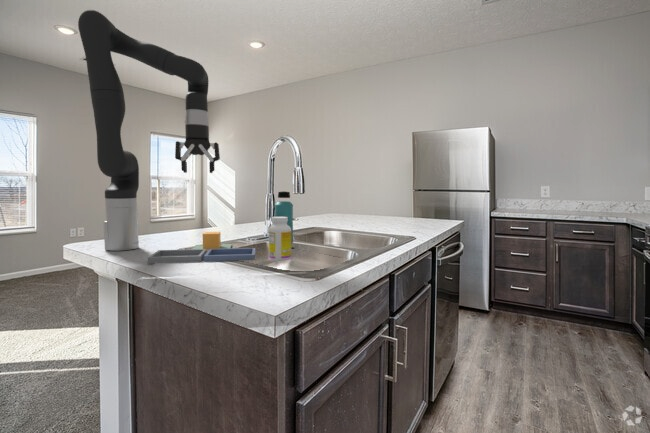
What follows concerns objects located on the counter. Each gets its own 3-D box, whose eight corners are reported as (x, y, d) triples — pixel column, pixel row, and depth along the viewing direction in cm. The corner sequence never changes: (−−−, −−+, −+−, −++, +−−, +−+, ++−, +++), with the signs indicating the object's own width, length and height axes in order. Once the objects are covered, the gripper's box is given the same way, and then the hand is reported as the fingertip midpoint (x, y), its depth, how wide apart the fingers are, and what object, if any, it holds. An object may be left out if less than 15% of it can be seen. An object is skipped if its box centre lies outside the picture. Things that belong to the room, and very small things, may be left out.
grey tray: (147, 264, 96) (147, 257, 96) (158, 256, 107) (158, 250, 106) (200, 263, 99) (200, 256, 99) (206, 255, 109) (206, 249, 109)
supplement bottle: (293, 257, 107) (293, 216, 106) (288, 262, 100) (288, 218, 99) (271, 257, 107) (271, 215, 106) (266, 262, 101) (265, 218, 100)
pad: (189, 254, 110) (189, 251, 110) (196, 247, 122) (196, 244, 121) (228, 253, 112) (228, 250, 112) (231, 246, 124) (231, 244, 124)
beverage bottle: (283, 246, 124) (282, 191, 122) (297, 249, 121) (297, 191, 119) (270, 249, 119) (269, 191, 117) (284, 252, 115) (284, 191, 113)
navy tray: (204, 263, 99) (203, 256, 99) (209, 255, 109) (209, 248, 109) (254, 261, 101) (254, 254, 101) (255, 254, 112) (255, 247, 111)
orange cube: (202, 249, 114) (202, 234, 113) (205, 246, 119) (205, 231, 118) (218, 248, 115) (218, 233, 114) (220, 246, 120) (220, 231, 119)
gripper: (220, 127, 123) (220, 173, 125) (177, 125, 121) (179, 172, 123) (217, 124, 116) (218, 172, 118) (172, 122, 114) (173, 172, 115)
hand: (198, 172), depth 120 cm, fingers open, 8 cm apart
